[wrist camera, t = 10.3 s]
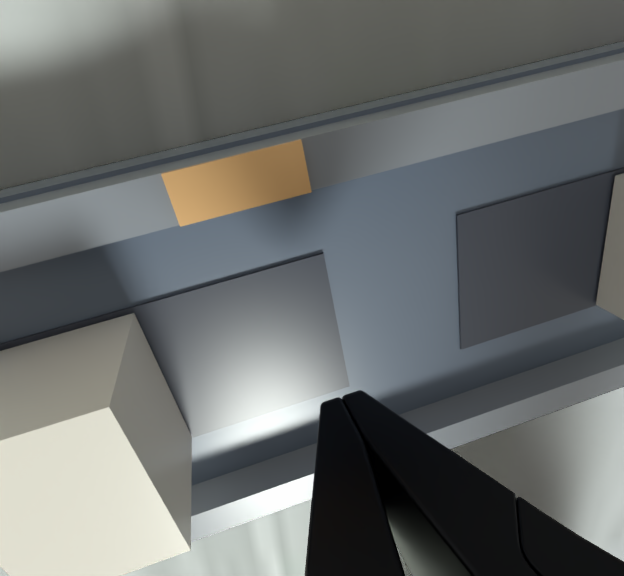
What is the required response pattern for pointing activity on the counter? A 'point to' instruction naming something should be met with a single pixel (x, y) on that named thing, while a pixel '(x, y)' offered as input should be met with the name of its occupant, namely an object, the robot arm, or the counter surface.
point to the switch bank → (346, 269)
